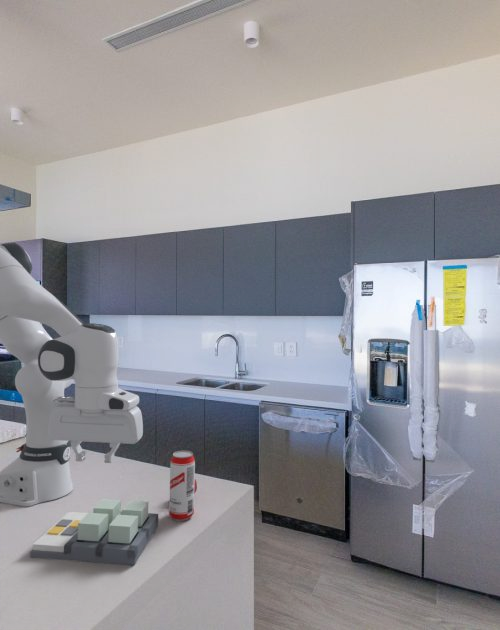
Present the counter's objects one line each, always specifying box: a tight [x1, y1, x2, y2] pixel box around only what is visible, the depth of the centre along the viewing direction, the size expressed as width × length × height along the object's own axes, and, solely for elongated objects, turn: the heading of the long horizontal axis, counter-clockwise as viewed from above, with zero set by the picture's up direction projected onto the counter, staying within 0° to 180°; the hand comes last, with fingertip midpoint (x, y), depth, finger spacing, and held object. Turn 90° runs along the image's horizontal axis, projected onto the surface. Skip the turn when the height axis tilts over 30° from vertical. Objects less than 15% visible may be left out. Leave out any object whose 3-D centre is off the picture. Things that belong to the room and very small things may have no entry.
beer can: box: [168, 449, 196, 522], centre depth 100 cm, size 6×6×16 cm
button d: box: [121, 500, 149, 526], centre depth 91 cm, size 5×5×4 cm
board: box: [29, 511, 159, 566], centre depth 88 cm, size 23×15×3 cm
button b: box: [92, 498, 122, 524], centre depth 92 cm, size 5×5×4 cm
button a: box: [78, 512, 108, 541], centre depth 85 cm, size 5×5×4 cm
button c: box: [108, 515, 138, 544], centre depth 84 cm, size 5×5×4 cm
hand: (95, 461), depth 85 cm, fingers open, 5 cm apart
